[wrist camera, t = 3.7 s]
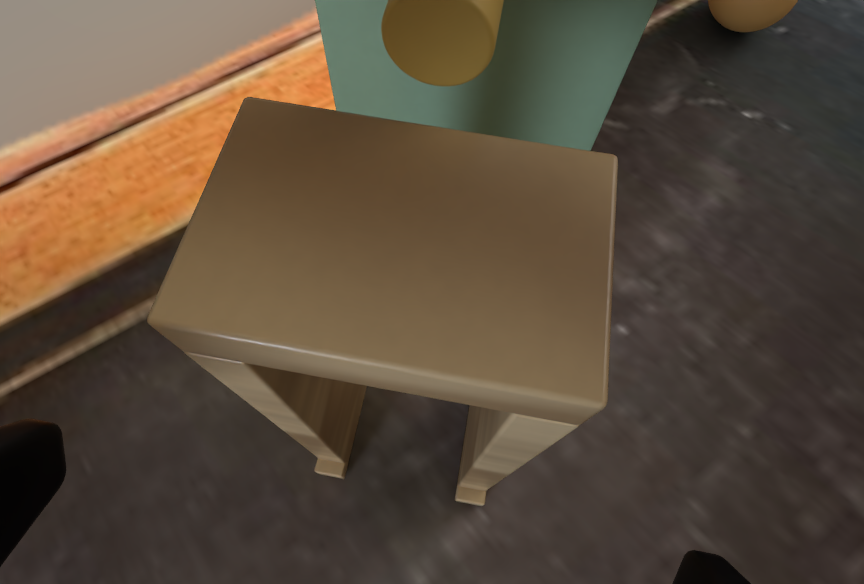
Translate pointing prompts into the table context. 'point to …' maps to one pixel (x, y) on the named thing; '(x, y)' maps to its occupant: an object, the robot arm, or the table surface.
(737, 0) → the figurine
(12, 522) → the robot arm
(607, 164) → the wooden side table
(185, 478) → the table surface
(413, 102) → the green bookend
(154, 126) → the table surface
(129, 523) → the table surface
